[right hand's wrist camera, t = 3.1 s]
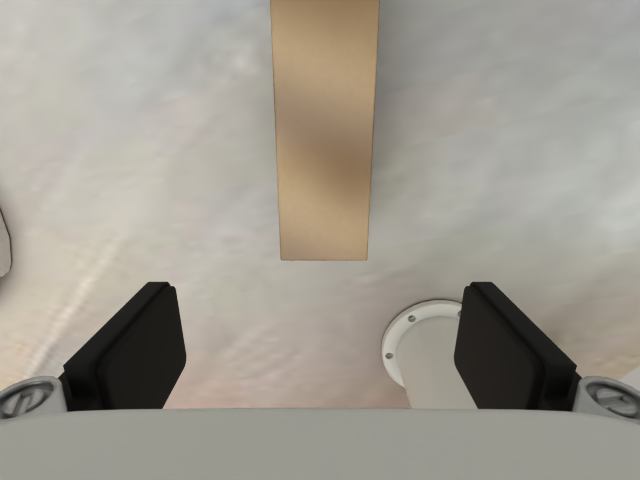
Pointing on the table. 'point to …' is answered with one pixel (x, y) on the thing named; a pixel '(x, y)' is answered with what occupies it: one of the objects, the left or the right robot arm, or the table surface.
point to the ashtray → (4, 249)
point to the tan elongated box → (324, 124)
